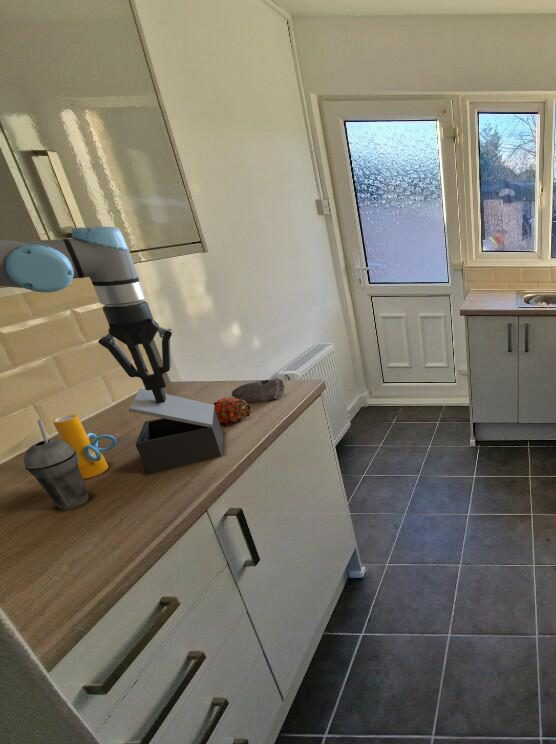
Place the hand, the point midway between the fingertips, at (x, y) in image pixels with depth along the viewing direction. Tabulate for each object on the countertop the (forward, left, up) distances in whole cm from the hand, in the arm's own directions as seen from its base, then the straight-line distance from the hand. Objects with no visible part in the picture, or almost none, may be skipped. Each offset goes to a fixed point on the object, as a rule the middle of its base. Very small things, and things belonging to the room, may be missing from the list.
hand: (161, 400), depth 99 cm
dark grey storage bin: (+1, 0, -16) cm, 16 cm away
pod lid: (+2, 0, -3) cm, 3 cm away
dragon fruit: (+10, +14, -16) cm, 24 cm away
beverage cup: (-18, -11, -16) cm, 26 cm away
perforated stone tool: (+18, +26, -16) cm, 36 cm away
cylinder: (-18, +2, -16) cm, 24 cm away
